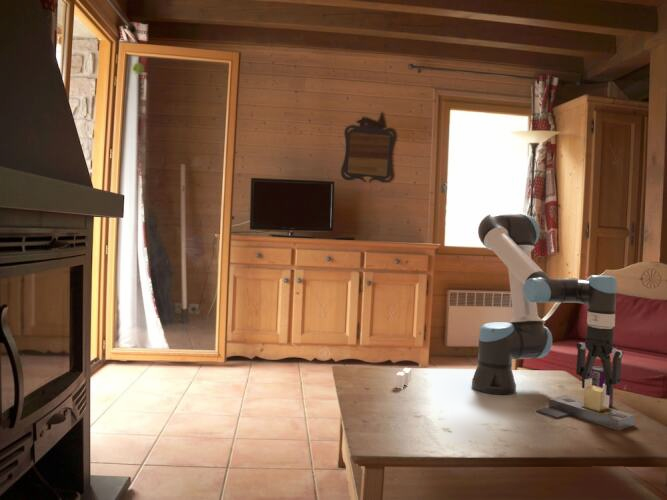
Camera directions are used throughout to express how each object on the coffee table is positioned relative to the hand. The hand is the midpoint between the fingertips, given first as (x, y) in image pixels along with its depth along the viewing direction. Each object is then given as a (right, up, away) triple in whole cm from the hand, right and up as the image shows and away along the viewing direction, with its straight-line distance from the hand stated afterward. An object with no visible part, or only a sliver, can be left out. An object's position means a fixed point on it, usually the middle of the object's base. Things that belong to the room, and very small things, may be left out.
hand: (596, 402), depth 159 cm
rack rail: (-1, -5, +2) cm, 5 cm away
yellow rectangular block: (0, -4, 0) cm, 4 cm away
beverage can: (+8, -5, +14) cm, 17 cm away
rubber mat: (-12, -4, +3) cm, 13 cm away
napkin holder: (-55, -3, +29) cm, 62 cm away
